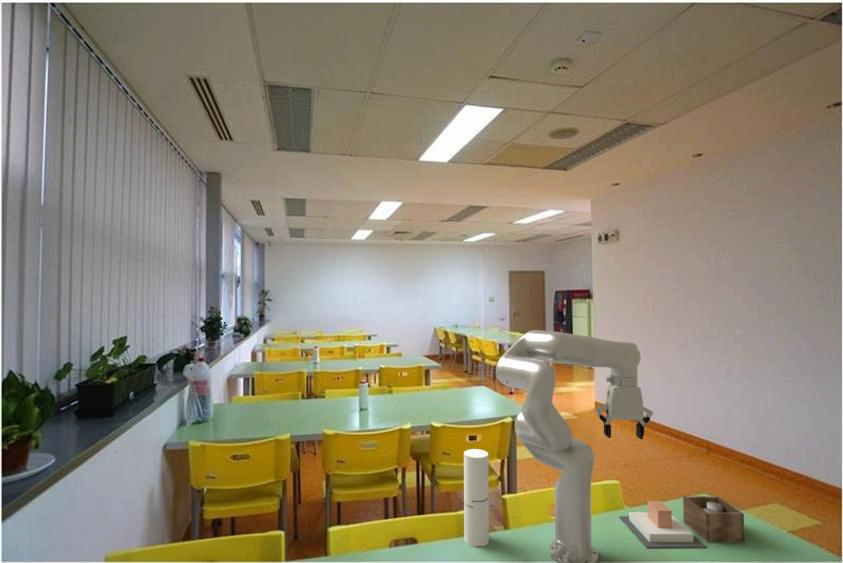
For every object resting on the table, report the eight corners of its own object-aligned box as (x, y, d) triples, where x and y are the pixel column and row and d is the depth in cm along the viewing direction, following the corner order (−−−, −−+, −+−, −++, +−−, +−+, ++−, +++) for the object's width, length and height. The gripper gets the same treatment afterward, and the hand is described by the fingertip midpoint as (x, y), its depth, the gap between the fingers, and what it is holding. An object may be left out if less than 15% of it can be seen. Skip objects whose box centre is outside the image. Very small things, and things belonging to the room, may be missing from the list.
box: (706, 541, 126) (706, 513, 127) (683, 522, 137) (683, 496, 138) (744, 541, 127) (743, 513, 127) (718, 522, 138) (717, 496, 138)
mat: (646, 548, 123) (646, 546, 123) (619, 517, 140) (619, 516, 140) (706, 547, 124) (706, 546, 124) (671, 517, 140) (671, 516, 140)
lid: (649, 542, 126) (649, 516, 126) (629, 519, 138) (628, 496, 139) (693, 542, 126) (693, 516, 126) (668, 519, 138) (668, 496, 139)
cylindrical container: (488, 548, 124) (487, 458, 124) (463, 545, 125) (462, 456, 126) (489, 534, 131) (488, 449, 131) (465, 531, 132) (465, 448, 133)
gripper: (600, 382, 133) (599, 439, 132) (658, 385, 133) (658, 442, 132) (591, 378, 141) (591, 432, 140) (646, 380, 140) (646, 435, 139)
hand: (623, 437), depth 136 cm, fingers open, 9 cm apart
